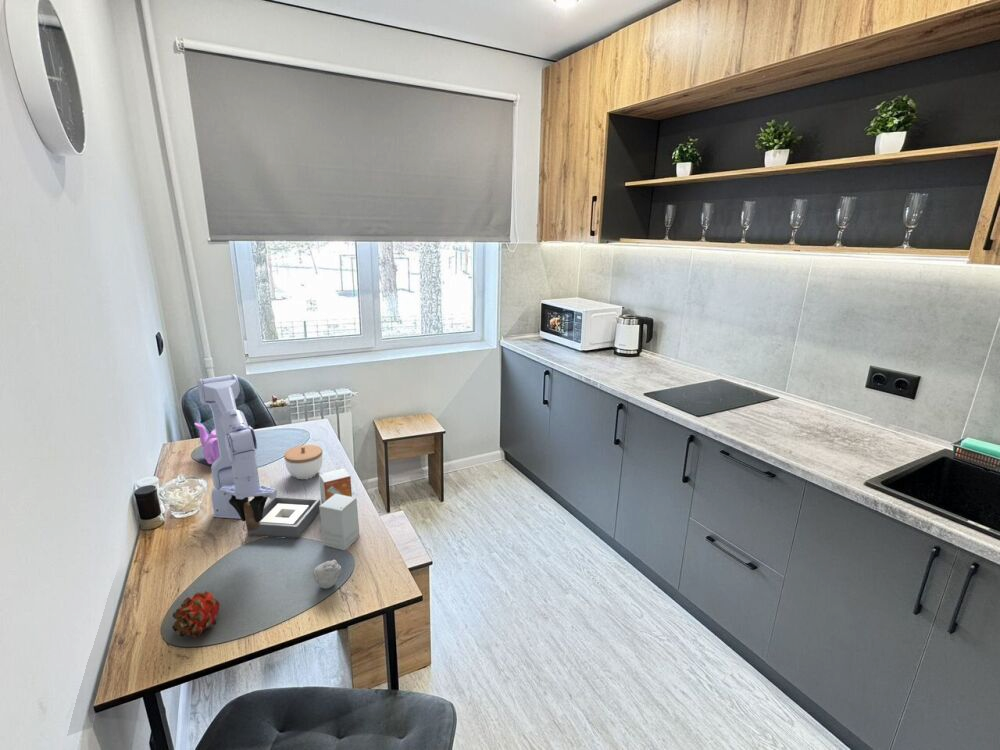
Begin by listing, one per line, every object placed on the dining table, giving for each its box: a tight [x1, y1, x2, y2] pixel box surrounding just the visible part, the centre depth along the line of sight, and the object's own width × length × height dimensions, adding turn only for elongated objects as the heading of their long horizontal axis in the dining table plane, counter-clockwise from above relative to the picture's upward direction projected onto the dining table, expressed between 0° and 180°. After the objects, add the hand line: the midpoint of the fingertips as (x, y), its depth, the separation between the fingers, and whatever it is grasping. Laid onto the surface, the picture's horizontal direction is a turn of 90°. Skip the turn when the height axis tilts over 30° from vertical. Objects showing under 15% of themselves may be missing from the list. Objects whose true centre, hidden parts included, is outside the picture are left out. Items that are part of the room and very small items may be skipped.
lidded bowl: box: [283, 444, 323, 480], centre depth 171 cm, size 13×13×11 cm
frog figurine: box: [312, 559, 342, 589], centre depth 117 cm, size 6×7×7 cm
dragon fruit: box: [171, 590, 221, 639], centre depth 105 cm, size 8×8×12 cm
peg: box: [243, 500, 260, 531], centre depth 128 cm, size 3×3×7 cm
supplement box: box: [319, 494, 360, 551], centre depth 134 cm, size 7×7×13 cm
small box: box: [318, 467, 353, 504], centre depth 148 cm, size 8×6×13 cm
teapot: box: [194, 422, 220, 465], centre depth 183 cm, size 22×22×14 cm
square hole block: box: [246, 495, 321, 540], centre depth 143 cm, size 15×15×4 cm
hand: (252, 519), depth 128 cm, fingers closed on peg, 3 cm apart
